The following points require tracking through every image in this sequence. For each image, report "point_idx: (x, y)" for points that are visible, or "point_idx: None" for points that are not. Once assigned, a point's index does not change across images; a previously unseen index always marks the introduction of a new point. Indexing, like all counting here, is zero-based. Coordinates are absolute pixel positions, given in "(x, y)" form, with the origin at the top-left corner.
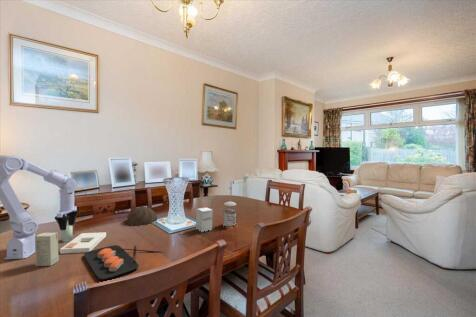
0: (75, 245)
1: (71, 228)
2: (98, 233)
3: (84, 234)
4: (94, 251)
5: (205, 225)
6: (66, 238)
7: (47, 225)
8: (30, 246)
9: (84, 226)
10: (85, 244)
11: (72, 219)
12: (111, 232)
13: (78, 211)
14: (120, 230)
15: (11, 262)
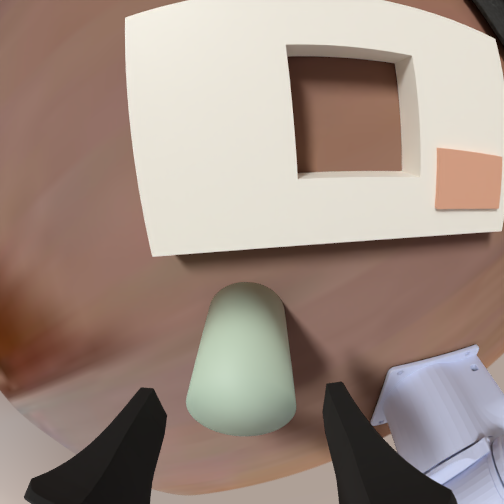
0: (471, 149)
1: (246, 361)
2: (154, 69)
3: (185, 207)
4: (491, 14)
5: None
6: (284, 320)
7: (79, 446)
8: (460, 388)
9: (13, 324)
10: (456, 74)
11: (134, 448)
12: (62, 48)
13: (36, 495)
14: (35, 19)
15: (482, 362)
